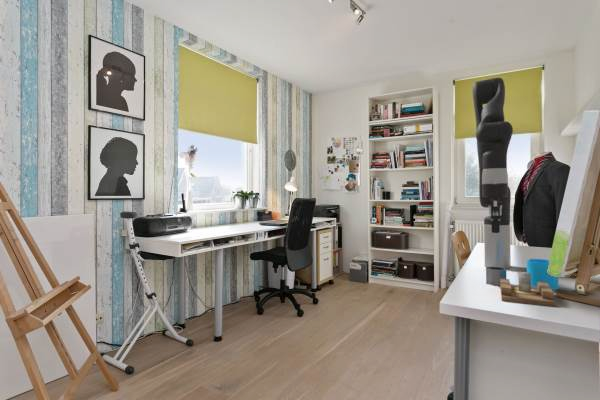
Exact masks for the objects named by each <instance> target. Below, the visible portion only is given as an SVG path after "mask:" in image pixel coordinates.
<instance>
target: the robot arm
mask: <svg viewBox="0 0 600 400" xmlns="http://www.w3.org/2000/svg"><path fill="white" fill-rule="evenodd" d="M505 99H506V86H505V82H504V80H503V78H502V77H493V78H487V79H483V80H478V81H475V82H474V83H473V85H472V101H473V109H474V115H475V116H474V117H475V126H476V127H475V129H476V132H475V138H476V150H477V158H478V170H479V173H478V174H479V175H478V176H479V177H478V178H479V181H478V182H479V183H478V184H479V185H478V187H479V188H478V189H479V191H478V192H479V193H478V194H479V197H478V198H479V202H480V206H481V207H482V208H488V211H489V213H488V214H489V215H487V216H486V217H484V219H483V224H484V225H483V228H484V229H483V233H484V235H483V238H484V239H483V240H484V246H483V247H484V266H485V267H502V268H506V269H510V268H511V267H512V266H511V262H512V261H511V260H512V259H511V196H512V195H511V189H510V187H509V174H508V168H507V165H508V162H507V161H508V160H507V159H508V150H509V146H510V142H511V139H512V136H513V132H514V129H513V125H512V123H510V122H509V121H505V113H504V107H505ZM483 105H484V106H483Z"/></svg>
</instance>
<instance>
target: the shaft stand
mask: <svg viewBox="0 0 600 400" xmlns="http://www.w3.org/2000/svg"><path fill="white" fill-rule="evenodd" d="M517 278H518V284H511V282H510V279H509V278H506V279H500V286H499V288H500V297H501V301H502V302H508V303H520V304H526V305H527V304H530V305H538V306H549V307H555V306H556V301H555V300H554V299H555V295H554V290H552V289H551V288H550V286H549V285H548V283H547V282H537V287H535V286H531V274H530V273H527V272H524V271H523V272H518V277H517Z"/></svg>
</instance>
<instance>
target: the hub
mask: <svg viewBox="0 0 600 400" xmlns="http://www.w3.org/2000/svg"><path fill="white" fill-rule="evenodd" d="M485 278H486V280H485V282H486V283H485V284H487V285H490V286H499V287H500V279H507V268H502V267H487V266H485Z"/></svg>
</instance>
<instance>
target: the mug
mask: <svg viewBox="0 0 600 400" xmlns="http://www.w3.org/2000/svg"><path fill="white" fill-rule="evenodd" d="M549 260H550V259H542V258H528V259H527V260H526V273H530V274H531V286H535V287H537V282H547V283H548V285H549V286H550V288H551V289H552V291H556V289H558V290H559V286H560V285H559V276H558V277H554V276H551V275H549V274H548V273H547V269H548V265H549Z"/></svg>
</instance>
